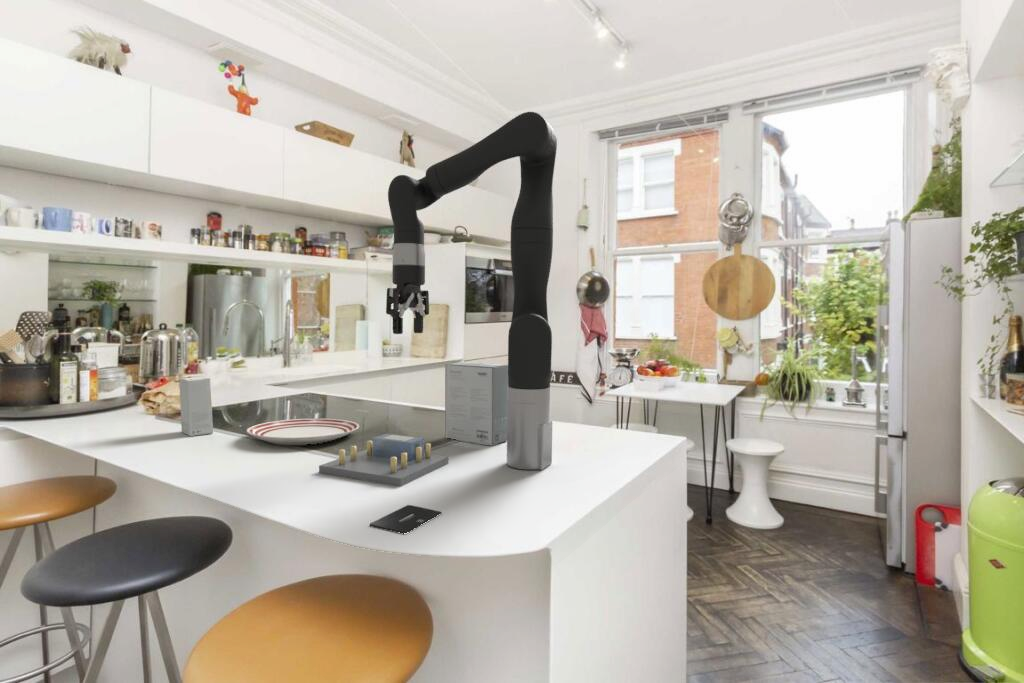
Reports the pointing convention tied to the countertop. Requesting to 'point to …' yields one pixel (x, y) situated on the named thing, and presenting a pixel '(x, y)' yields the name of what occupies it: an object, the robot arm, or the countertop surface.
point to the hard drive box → (476, 402)
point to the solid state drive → (405, 519)
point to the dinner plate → (302, 431)
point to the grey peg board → (383, 466)
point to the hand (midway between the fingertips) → (408, 333)
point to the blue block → (397, 446)
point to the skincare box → (196, 406)
